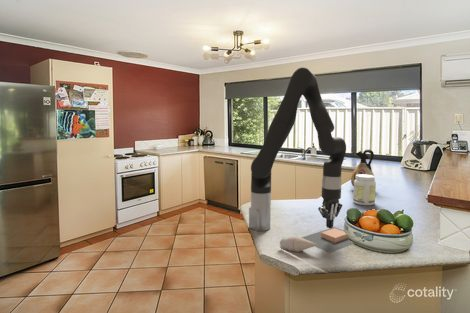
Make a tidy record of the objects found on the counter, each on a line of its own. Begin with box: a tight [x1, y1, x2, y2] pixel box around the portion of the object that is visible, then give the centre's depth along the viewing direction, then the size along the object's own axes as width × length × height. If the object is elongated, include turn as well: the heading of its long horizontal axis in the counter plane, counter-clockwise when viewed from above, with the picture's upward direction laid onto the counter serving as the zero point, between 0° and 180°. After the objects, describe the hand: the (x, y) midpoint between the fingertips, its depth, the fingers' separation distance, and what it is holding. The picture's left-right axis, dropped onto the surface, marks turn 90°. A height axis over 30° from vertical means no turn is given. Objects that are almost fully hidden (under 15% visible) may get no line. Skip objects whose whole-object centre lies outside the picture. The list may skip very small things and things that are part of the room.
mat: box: [300, 226, 355, 254], centre depth 123 cm, size 24×16×1 cm, turn 124°
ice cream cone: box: [279, 235, 318, 253], centre depth 111 cm, size 6×6×15 cm
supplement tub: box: [352, 174, 377, 206], centre depth 177 cm, size 12×12×17 cm
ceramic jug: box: [350, 149, 376, 187], centre depth 206 cm, size 17×15×30 cm
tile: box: [321, 227, 348, 243], centre depth 123 cm, size 2×7×9 cm
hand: (329, 227), depth 121 cm, fingers closed
